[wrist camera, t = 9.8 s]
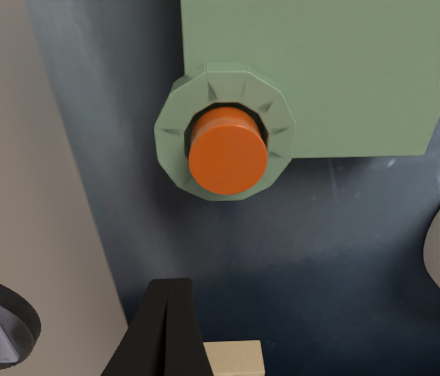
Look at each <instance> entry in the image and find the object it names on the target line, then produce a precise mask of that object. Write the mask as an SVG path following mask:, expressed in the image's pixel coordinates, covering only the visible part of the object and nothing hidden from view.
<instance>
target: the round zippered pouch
mask: <svg viewBox="0 0 440 376" xmlns="http://www.w3.org/2000/svg"><path fill="white" fill-rule="evenodd" d="M423 258H424V264H425V267H426V270H427V272H428V273H429V275H430V276H431V278H432V279H433V280H434V281H435V283H436V284H437V285H438V286H439V288H440V210H439V211H438V213H437V214H436V216H435V218H434V219H433V221H432V223H431V225H430V227H429V230H428V232H427V235H426V239H425V243H424V250H423Z"/></svg>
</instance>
